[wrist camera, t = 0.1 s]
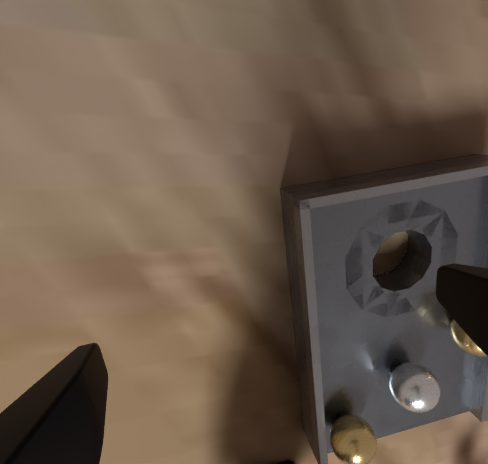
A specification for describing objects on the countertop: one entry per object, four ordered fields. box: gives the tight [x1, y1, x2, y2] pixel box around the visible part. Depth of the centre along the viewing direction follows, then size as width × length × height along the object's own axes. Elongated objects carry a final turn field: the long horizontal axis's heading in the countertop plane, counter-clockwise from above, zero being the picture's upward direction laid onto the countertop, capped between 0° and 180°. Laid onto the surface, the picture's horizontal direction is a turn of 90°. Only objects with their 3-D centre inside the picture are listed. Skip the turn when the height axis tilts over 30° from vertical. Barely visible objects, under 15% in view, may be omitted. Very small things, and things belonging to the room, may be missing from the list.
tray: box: [280, 154, 488, 464], centre depth 26 cm, size 22×15×4 cm
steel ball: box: [389, 362, 441, 413], centre depth 25 cm, size 3×3×3 cm
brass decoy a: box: [330, 414, 377, 464], centre depth 26 cm, size 3×3×3 cm
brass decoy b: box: [450, 319, 487, 356], centre depth 25 cm, size 3×3×3 cm
